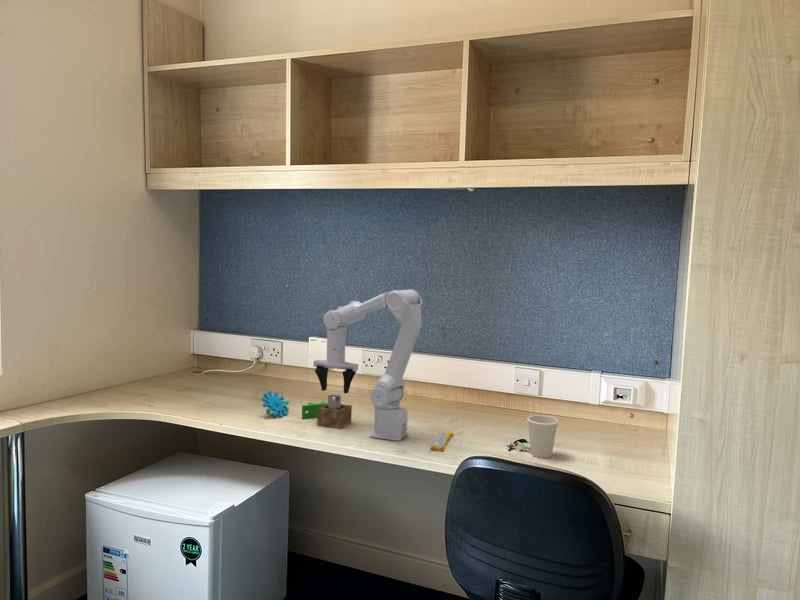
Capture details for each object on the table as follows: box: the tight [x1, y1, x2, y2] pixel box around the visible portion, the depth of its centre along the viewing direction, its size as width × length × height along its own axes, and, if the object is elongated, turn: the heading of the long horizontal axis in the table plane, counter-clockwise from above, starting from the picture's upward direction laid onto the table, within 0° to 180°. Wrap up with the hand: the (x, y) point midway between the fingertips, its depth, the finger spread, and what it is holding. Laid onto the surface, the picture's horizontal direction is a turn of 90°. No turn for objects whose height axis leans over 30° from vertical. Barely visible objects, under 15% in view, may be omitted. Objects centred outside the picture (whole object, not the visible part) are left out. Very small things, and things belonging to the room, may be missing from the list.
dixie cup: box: [526, 414, 559, 459], centre depth 166 cm, size 8×8×10 cm
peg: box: [327, 394, 342, 410], centre depth 189 cm, size 4×4×8 cm
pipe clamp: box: [301, 401, 328, 420], centre depth 198 cm, size 11×4×5 cm, turn 116°
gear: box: [261, 390, 291, 418], centre depth 199 cm, size 11×6×10 cm
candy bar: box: [429, 430, 455, 452], centre depth 175 cm, size 17×4×2 cm, turn 165°
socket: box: [316, 402, 353, 430], centre depth 190 cm, size 8×8×6 cm
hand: (335, 391), depth 189 cm, fingers open, 7 cm apart
